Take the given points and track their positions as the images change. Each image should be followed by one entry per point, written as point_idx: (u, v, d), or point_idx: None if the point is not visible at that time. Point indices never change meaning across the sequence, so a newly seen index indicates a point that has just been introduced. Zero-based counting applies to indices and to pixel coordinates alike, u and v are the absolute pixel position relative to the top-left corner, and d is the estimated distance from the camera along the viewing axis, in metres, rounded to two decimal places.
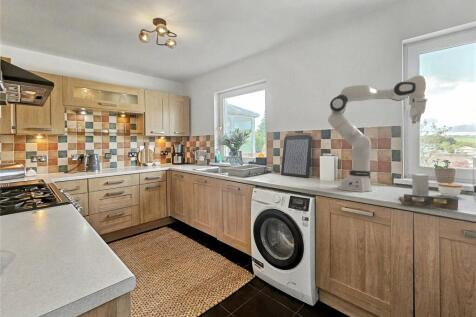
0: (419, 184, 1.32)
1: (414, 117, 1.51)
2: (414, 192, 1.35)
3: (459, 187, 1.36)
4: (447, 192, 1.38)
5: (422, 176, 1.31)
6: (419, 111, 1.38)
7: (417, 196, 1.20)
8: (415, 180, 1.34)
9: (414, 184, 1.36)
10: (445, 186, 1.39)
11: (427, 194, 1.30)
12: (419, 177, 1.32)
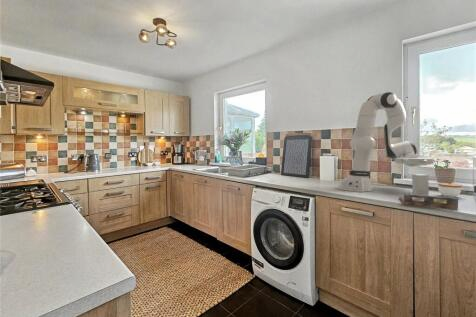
0: (419, 184, 1.32)
1: None
2: (414, 192, 1.35)
3: (459, 187, 1.36)
4: (447, 192, 1.38)
5: (422, 176, 1.31)
6: None
7: (417, 196, 1.20)
8: (415, 180, 1.34)
9: (414, 184, 1.36)
10: (445, 186, 1.39)
11: (427, 194, 1.30)
12: (419, 177, 1.32)
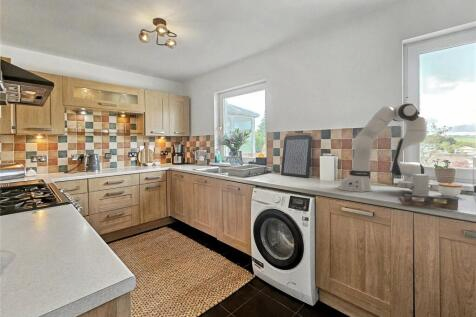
0: (419, 184, 1.32)
1: None
2: (414, 192, 1.35)
3: (459, 187, 1.36)
4: (447, 192, 1.38)
5: (422, 176, 1.31)
6: (438, 185, 1.35)
7: (417, 196, 1.20)
8: (415, 180, 1.34)
9: (414, 184, 1.36)
10: (445, 186, 1.39)
11: (427, 194, 1.30)
12: (419, 177, 1.32)
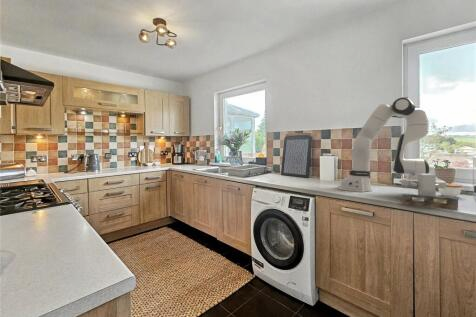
0: (425, 184, 1.21)
1: None
2: (420, 193, 1.25)
3: (459, 187, 1.36)
4: (447, 192, 1.38)
5: (428, 175, 1.21)
6: (445, 184, 1.25)
7: (417, 196, 1.20)
8: (421, 180, 1.24)
9: (420, 184, 1.25)
10: None
11: (434, 195, 1.20)
12: (425, 176, 1.21)
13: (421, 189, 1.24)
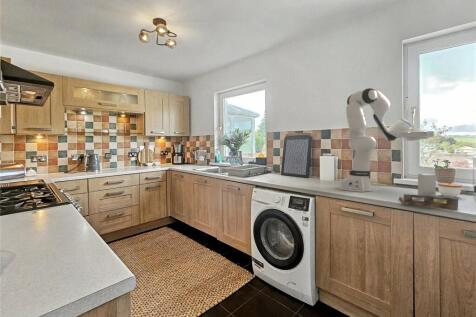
0: (425, 184, 1.21)
1: None
2: (420, 193, 1.25)
3: (459, 187, 1.36)
4: (447, 192, 1.38)
5: (428, 176, 1.21)
6: None
7: (417, 196, 1.20)
8: (421, 180, 1.24)
9: (420, 184, 1.25)
10: (445, 186, 1.39)
11: (434, 195, 1.20)
12: (425, 177, 1.21)
13: (421, 189, 1.24)
